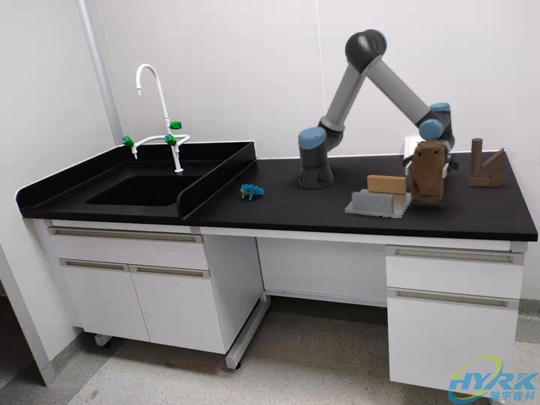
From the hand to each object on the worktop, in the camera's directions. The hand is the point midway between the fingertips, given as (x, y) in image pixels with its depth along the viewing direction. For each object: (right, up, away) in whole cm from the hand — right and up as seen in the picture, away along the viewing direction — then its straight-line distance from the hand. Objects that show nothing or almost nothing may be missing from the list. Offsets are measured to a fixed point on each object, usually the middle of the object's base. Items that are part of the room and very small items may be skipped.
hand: (424, 172), depth 136 cm
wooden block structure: (+30, -3, +20) cm, 36 cm away
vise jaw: (-6, -6, +23) cm, 24 cm away
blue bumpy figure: (-58, -8, +40) cm, 71 cm away
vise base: (-10, -11, +17) cm, 22 cm away
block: (+3, -9, +8) cm, 12 cm away
